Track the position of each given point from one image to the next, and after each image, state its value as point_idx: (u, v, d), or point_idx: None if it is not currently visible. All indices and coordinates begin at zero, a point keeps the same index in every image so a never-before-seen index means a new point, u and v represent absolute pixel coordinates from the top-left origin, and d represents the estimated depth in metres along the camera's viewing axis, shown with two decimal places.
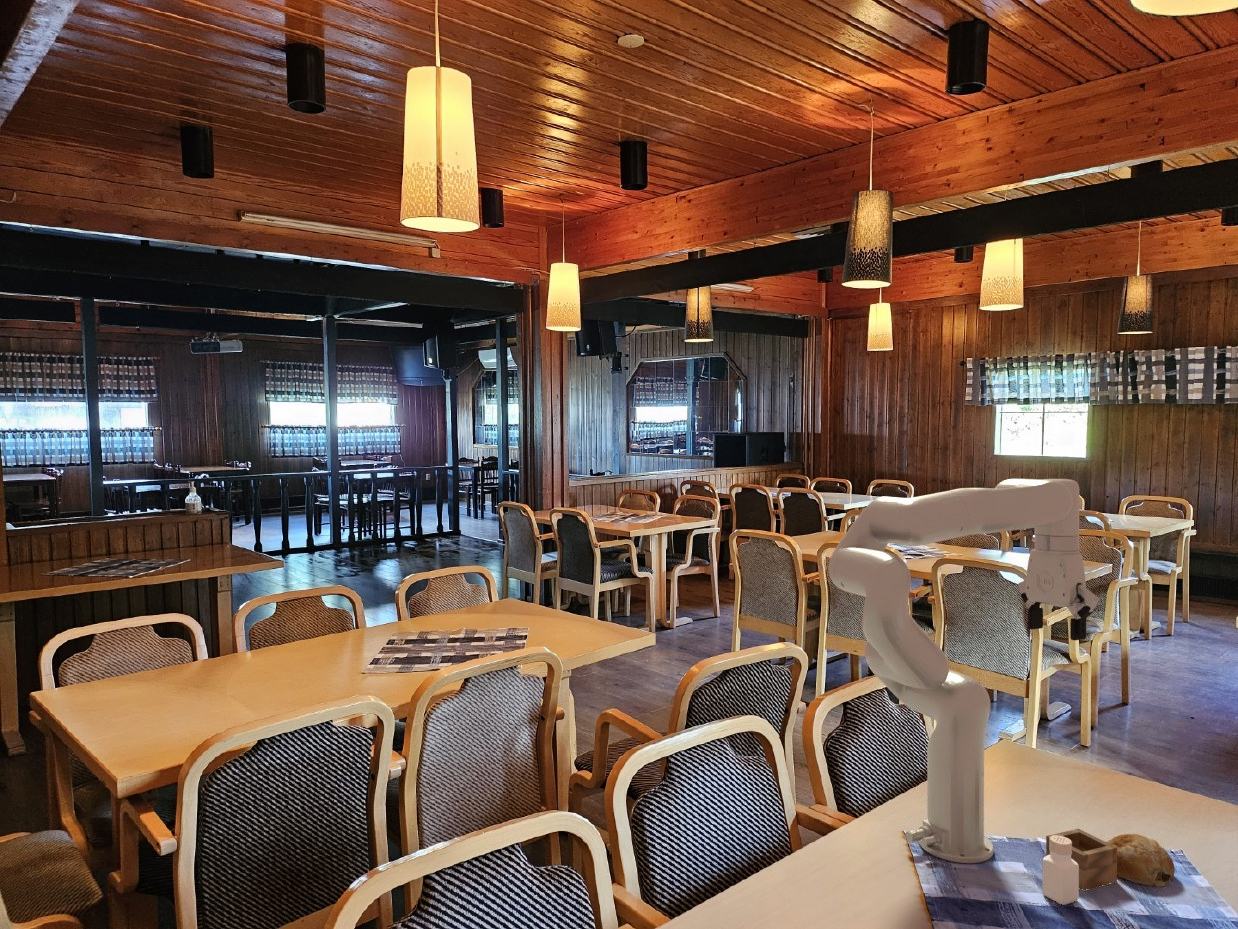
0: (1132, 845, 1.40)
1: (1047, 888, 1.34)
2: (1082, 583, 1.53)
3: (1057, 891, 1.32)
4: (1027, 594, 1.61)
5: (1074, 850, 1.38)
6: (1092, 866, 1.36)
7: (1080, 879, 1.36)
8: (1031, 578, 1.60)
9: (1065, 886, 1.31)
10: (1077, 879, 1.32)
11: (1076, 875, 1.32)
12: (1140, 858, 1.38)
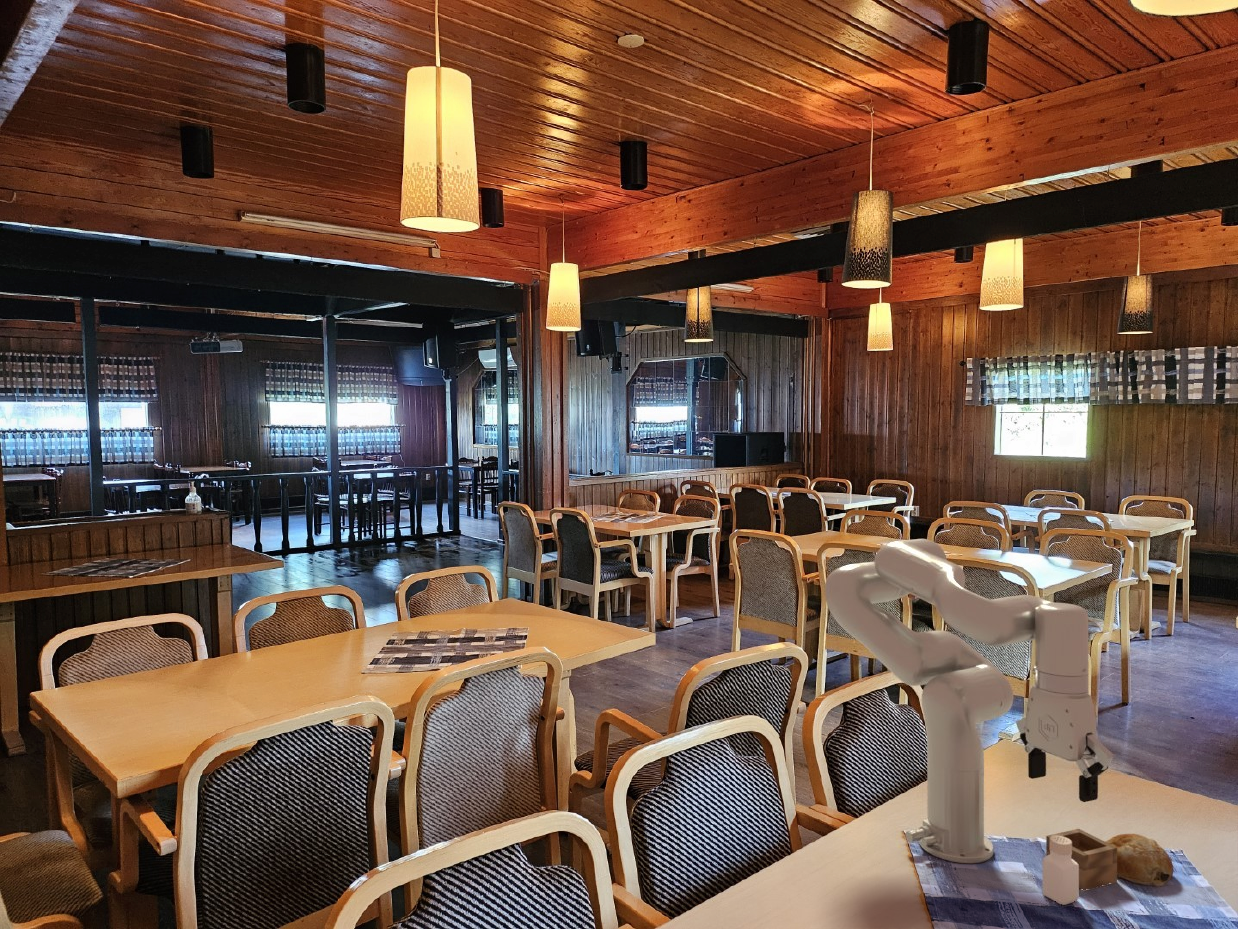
0: (1131, 844, 1.40)
1: (1047, 888, 1.34)
2: (1092, 733, 1.29)
3: (1057, 891, 1.32)
4: (1027, 738, 1.36)
5: (1074, 850, 1.38)
6: (1093, 866, 1.36)
7: (1080, 879, 1.36)
8: (1031, 720, 1.35)
9: (1065, 886, 1.31)
10: (1077, 879, 1.32)
11: (1076, 875, 1.32)
12: (1139, 858, 1.38)
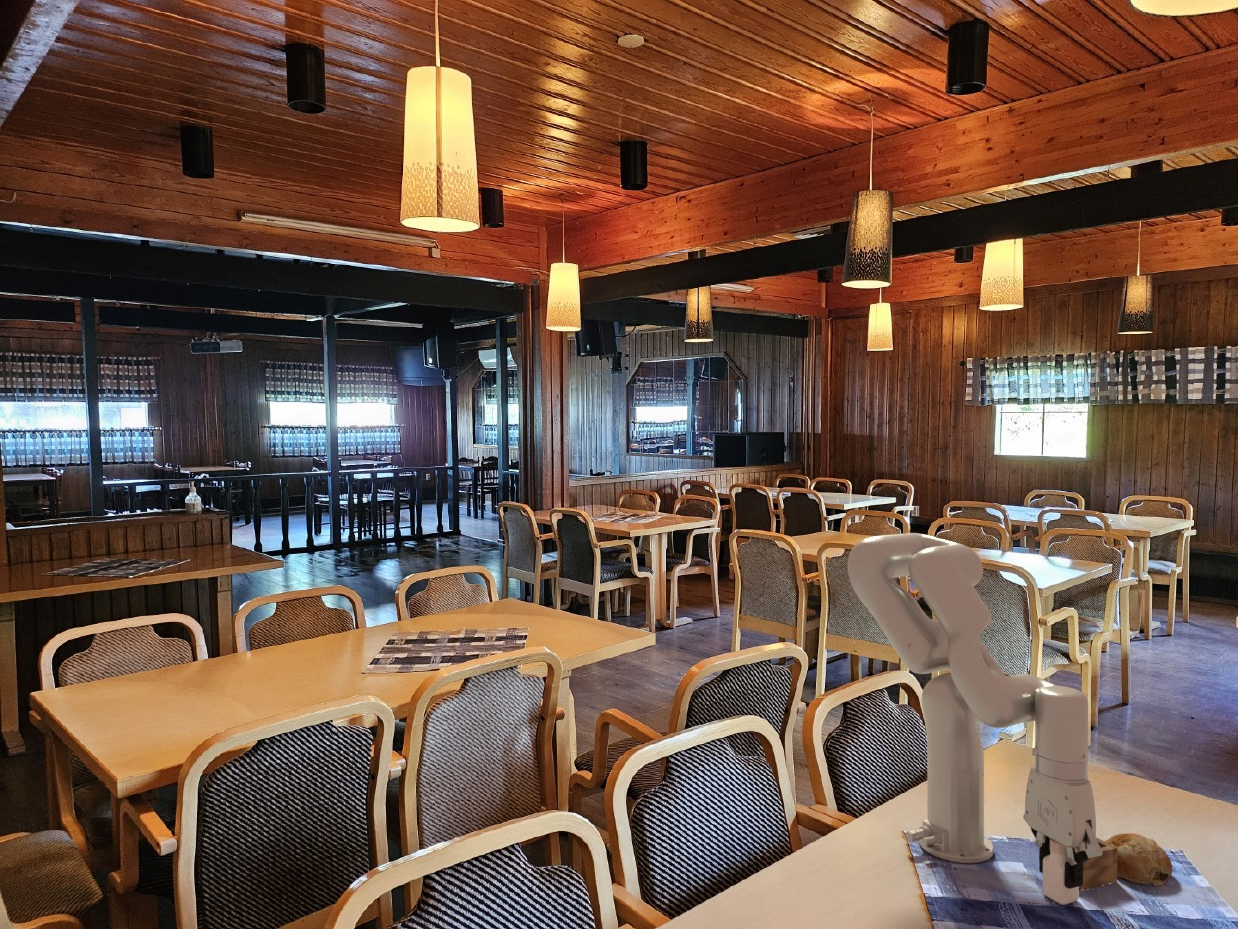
0: (1130, 844, 1.40)
1: (1047, 888, 1.34)
2: (1092, 820, 1.29)
3: (1057, 891, 1.32)
4: (1026, 820, 1.37)
5: None
6: (1093, 866, 1.36)
7: None
8: (1030, 802, 1.36)
9: None
10: None
11: None
12: (1138, 858, 1.38)
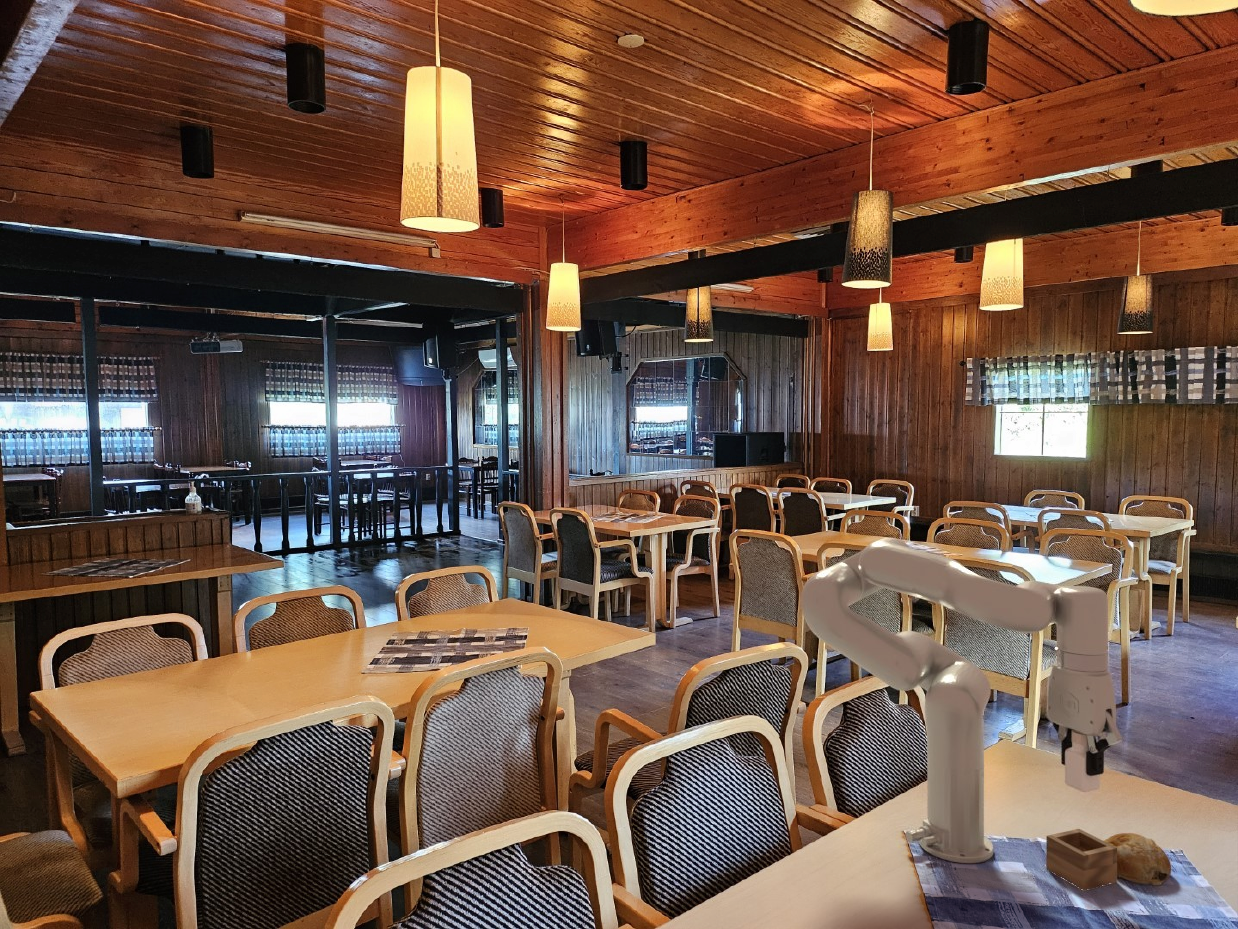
0: (1129, 844, 1.40)
1: (1069, 778, 1.40)
2: (1112, 709, 1.35)
3: (1079, 779, 1.38)
4: (1049, 715, 1.43)
5: (1074, 850, 1.38)
6: (1093, 866, 1.36)
7: (1080, 879, 1.36)
8: (1053, 697, 1.42)
9: (1086, 774, 1.38)
10: None
11: None
12: (1136, 857, 1.38)
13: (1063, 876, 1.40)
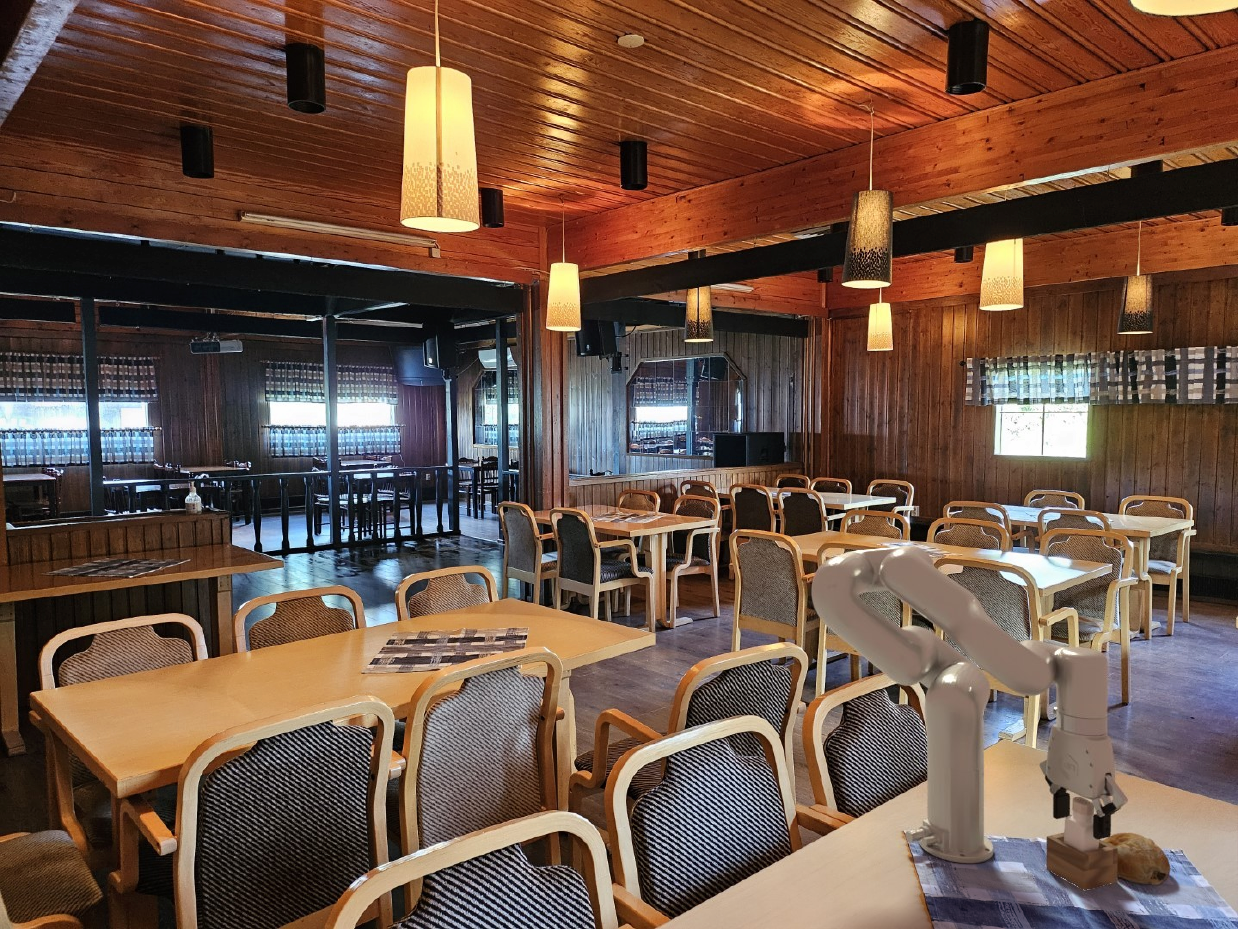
0: (1128, 843, 1.40)
1: None
2: (1111, 773, 1.36)
3: (1077, 848, 1.39)
4: (1048, 775, 1.43)
5: (1074, 850, 1.38)
6: (1093, 866, 1.36)
7: (1080, 880, 1.36)
8: (1052, 758, 1.42)
9: (1085, 844, 1.38)
10: None
11: None
12: (1135, 857, 1.38)
13: (1063, 877, 1.39)
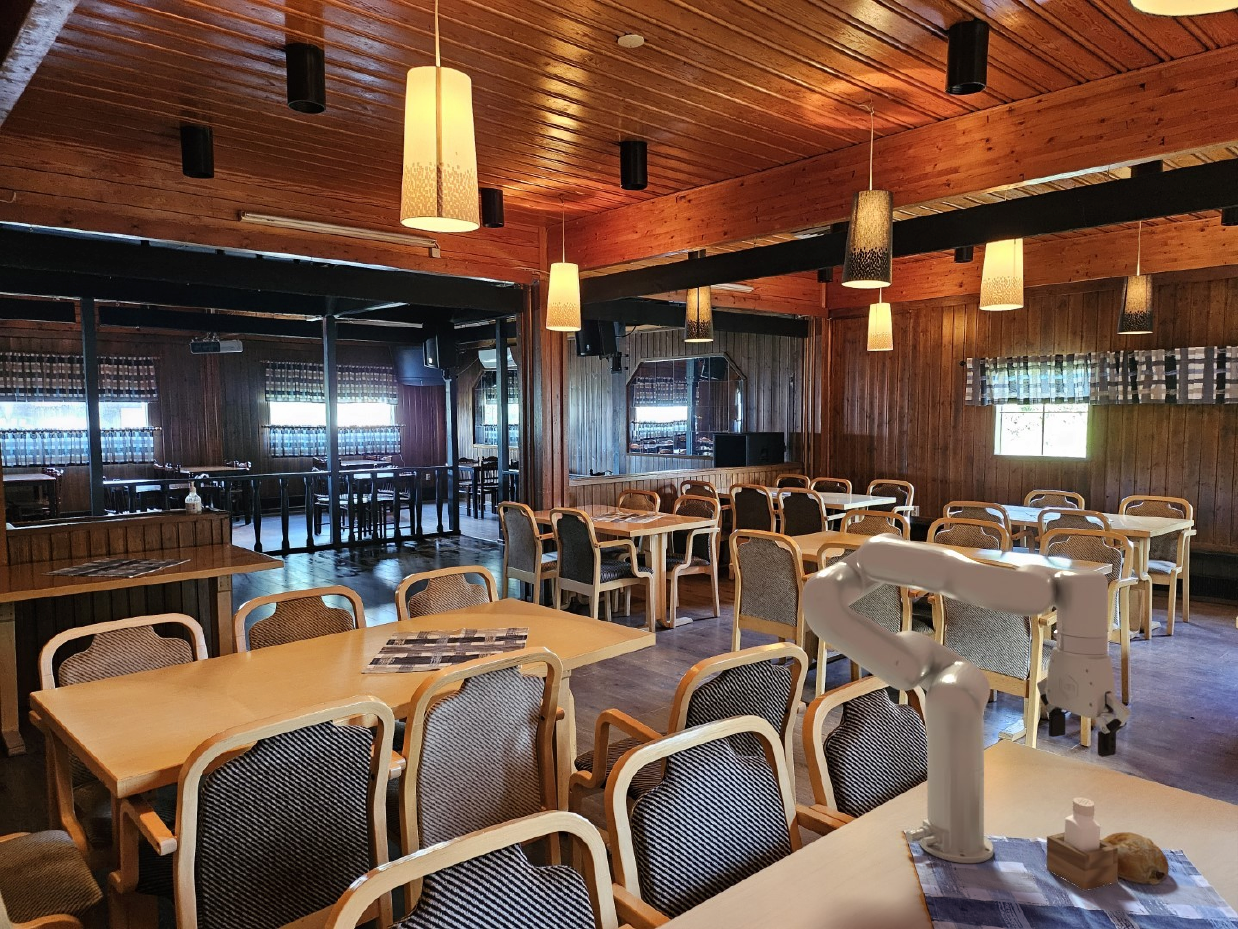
0: (1126, 843, 1.41)
1: None
2: (1111, 691, 1.35)
3: None
4: (1048, 698, 1.43)
5: (1075, 851, 1.38)
6: (1094, 866, 1.36)
7: (1081, 880, 1.36)
8: (1052, 680, 1.42)
9: (1084, 845, 1.38)
10: (1098, 839, 1.39)
11: (1096, 836, 1.38)
12: (1134, 857, 1.39)
13: (1064, 877, 1.39)
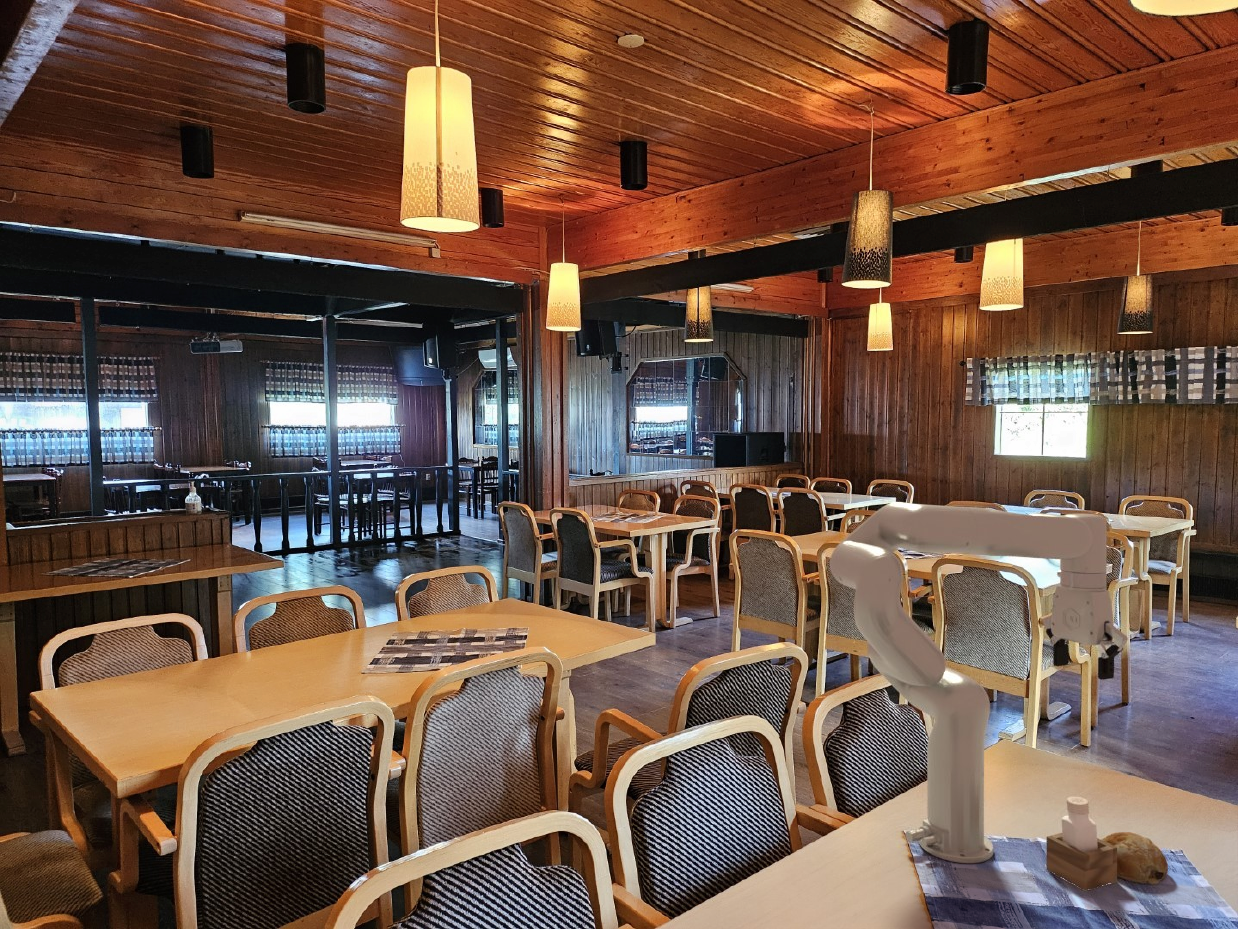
0: (1126, 843, 1.41)
1: None
2: (1110, 621, 1.51)
3: None
4: (1052, 630, 1.58)
5: (1075, 851, 1.37)
6: (1094, 866, 1.36)
7: (1081, 880, 1.36)
8: (1056, 614, 1.57)
9: (1080, 844, 1.38)
10: (1095, 838, 1.39)
11: (1093, 834, 1.39)
12: (1133, 856, 1.39)
13: (1064, 877, 1.39)
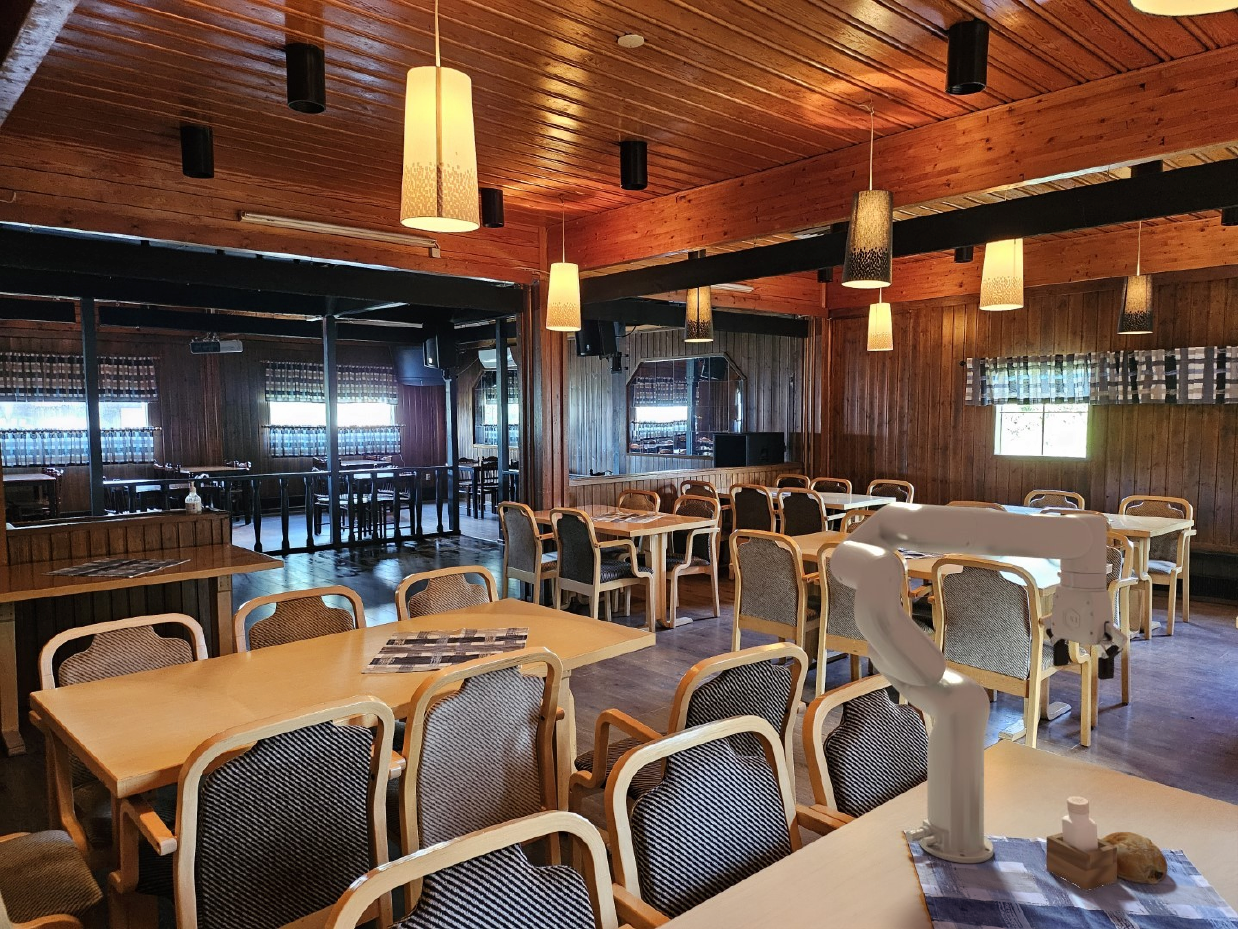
0: (1125, 843, 1.41)
1: None
2: (1110, 621, 1.51)
3: None
4: (1052, 631, 1.58)
5: (1075, 851, 1.37)
6: (1094, 866, 1.36)
7: (1082, 880, 1.36)
8: (1056, 614, 1.57)
9: (1081, 844, 1.38)
10: (1095, 838, 1.39)
11: (1093, 834, 1.39)
12: (1133, 856, 1.39)
13: (1064, 877, 1.39)
